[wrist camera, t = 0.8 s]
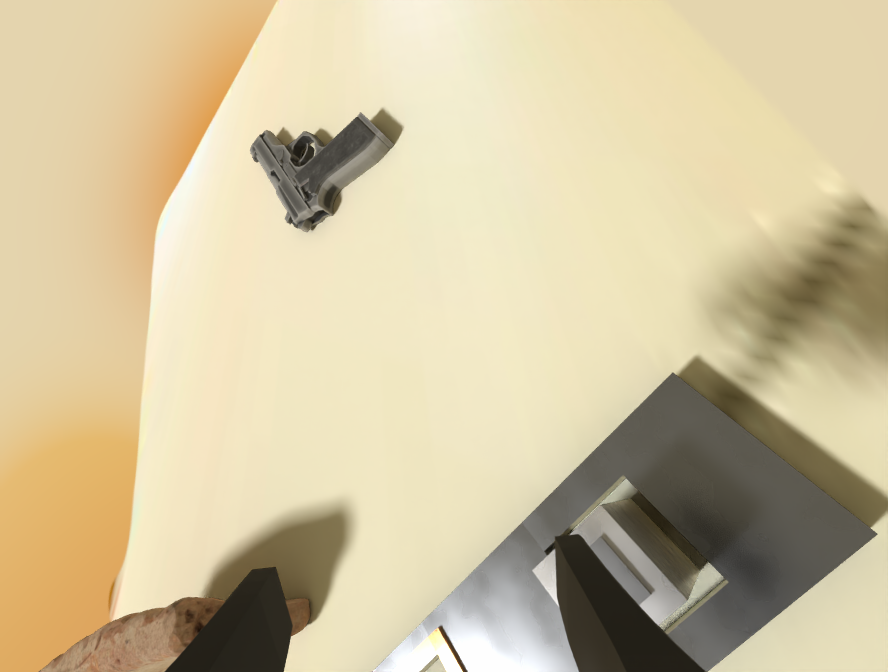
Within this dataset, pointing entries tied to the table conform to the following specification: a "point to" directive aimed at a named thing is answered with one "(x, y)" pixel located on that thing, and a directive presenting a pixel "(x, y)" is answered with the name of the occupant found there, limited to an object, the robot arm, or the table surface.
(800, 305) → the table surface
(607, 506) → the grey rectangular block
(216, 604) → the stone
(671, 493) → the rail
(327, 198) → the handgun
